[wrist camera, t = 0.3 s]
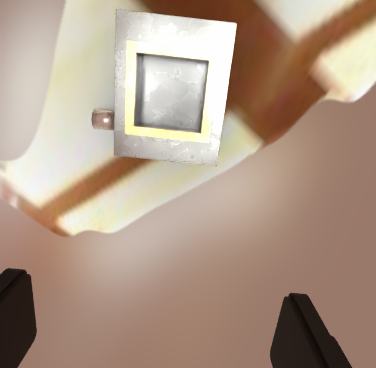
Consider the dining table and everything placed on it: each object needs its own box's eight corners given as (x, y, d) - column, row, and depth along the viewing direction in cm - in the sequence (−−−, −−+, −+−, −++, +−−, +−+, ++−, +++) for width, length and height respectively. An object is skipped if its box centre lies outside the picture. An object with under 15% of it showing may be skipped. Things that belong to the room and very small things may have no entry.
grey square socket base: (99, 15, 33) (84, 3, 29) (231, 30, 34) (238, 21, 29) (100, 146, 39) (87, 154, 34) (214, 158, 39) (217, 167, 34)
